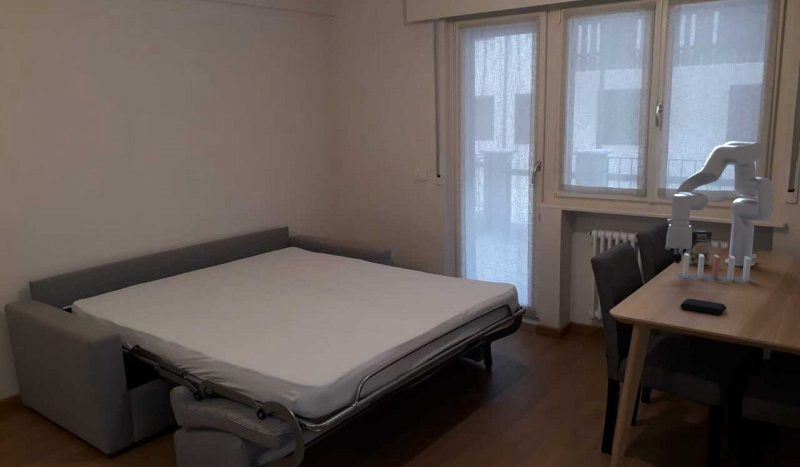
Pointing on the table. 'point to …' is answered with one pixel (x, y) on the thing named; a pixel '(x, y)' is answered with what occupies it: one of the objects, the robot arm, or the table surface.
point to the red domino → (715, 267)
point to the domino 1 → (685, 265)
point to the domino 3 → (731, 268)
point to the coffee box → (700, 246)
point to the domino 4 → (746, 268)
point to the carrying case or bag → (703, 307)
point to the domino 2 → (700, 266)
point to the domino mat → (720, 278)
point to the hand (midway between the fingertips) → (677, 262)
